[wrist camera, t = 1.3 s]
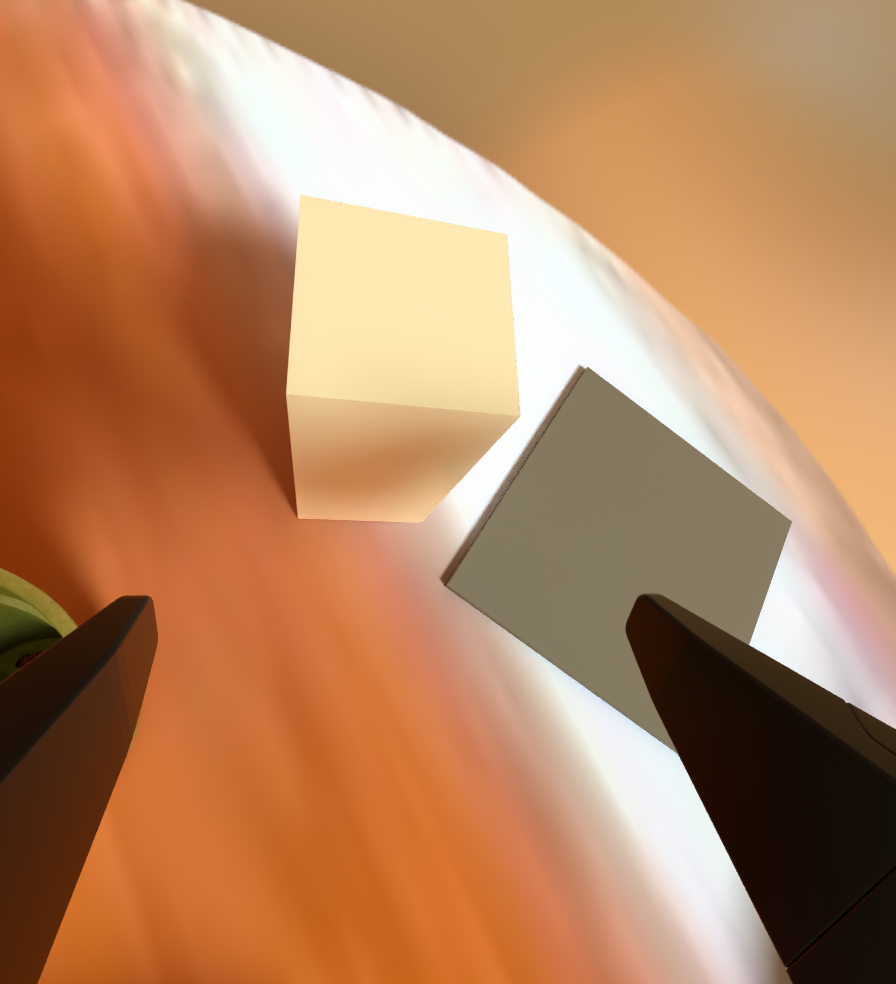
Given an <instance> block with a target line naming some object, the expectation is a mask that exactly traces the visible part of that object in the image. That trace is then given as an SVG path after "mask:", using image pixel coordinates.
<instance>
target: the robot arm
mask: <svg viewBox="0 0 896 984" xmlns="http://www.w3.org/2000/svg"><path fill="white" fill-rule="evenodd" d="M625 631H626V636H627V639H628V641H629V644H630V646H631V649H632V651H633V654H634V657H635V659H636V662H637V664H638V667H639V669H640V672H641V675H642V677H643V680H644V682H645V685H646V687H647V690H648V693H649V695H650V697H651V700H652V702H653V704H654V707H655V709H656V711H657V713H658V715H659V717H660V719H661V721H662V723H663V725H664V727H665V729H666V731H667V733H668V735H669V737H670V739H671V741H672V743H673V745H674V747H675V749H676V751H677V753H678V755H679V757H680V759H681V761H682V763H683V765H684V767H685V769H686V771H687V773H688V775H689V777H690V779H691V781H692V783H693V785H694V787H695V789H696V791H697V793H698V795H699V797H700V799H701V801H702V803H703V805H704V807H705V809H706V811H707V813H708V815H709V817H710V819H711V821H712V823H713V825H714V827H715V829H716V831H717V833H718V835H719V837H720V839H721V841H722V843H723V845H724V847H725V849H726V851H727V853H728V855H729V857H730V859H731V861H732V863H733V865H734V867H735V869H736V871H737V873H738V875H739V877H740V879H741V881H742V883H743V885H744V887H745V889H746V891H747V893H748V895H749V897H750V899H751V901H752V903H753V905H754V907H755V909H756V911H757V913H758V915H759V917H760V919H761V921H762V923H763V925H764V927H765V929H766V931H767V933H768V935H769V937H770V939H771V941H772V943H773V945H774V947H775V949H776V951H777V953H778V955H779V957H780V959H781V961H782V963H783V965H784V966H785V967H787V968H786V972H787V974H788V976H789V978H790V980H791V982H792V984H896V729H894V728H892V727H891V726H889V725H887V724H885V723H884V722H882V721H880V720H878V719H876V718H875V717H873V716H871V715H869V714H868V713H866V712H864V711H862V710H861V709H859V708H857V707H856V706H854V705H852V704H850V703H846V702H845V701H844V700H843V699H842V698H840V697H838V696H836V695H835V694H833V693H831V692H829V691H828V690H826V689H824V688H822V687H821V686H819V685H817V684H816V683H814V682H812V681H810V680H809V679H807V678H805V677H803V676H802V675H800V674H798V673H796V672H795V671H793V670H791V669H790V668H788V667H786V666H784V665H783V664H781V663H779V662H777V661H776V660H774V659H772V658H770V657H769V656H767V655H765V654H764V653H762V652H760V651H758V650H757V649H755V648H753V647H751V646H750V645H748V644H746V643H744V642H743V641H741V640H739V639H738V638H736V637H734V636H732V635H731V634H729V633H727V632H725V631H724V630H722V629H720V628H718V627H717V626H715V625H713V624H712V623H710V622H708V621H706V620H705V619H703V618H701V617H699V616H698V615H696V614H694V613H692V612H691V611H689V610H687V609H686V608H684V607H682V606H680V605H679V604H677V603H675V602H673V601H672V600H670V599H668V598H667V597H665V596H663V595H661V594H657V593H644V594H640V595H639V596H638V597H637V599H636V601H635V603H634V605H633V607H632V610H631V612H630V614H629V617H628V619H627V621H626V625H625ZM157 641H158V632H157V625H156V617H155V610H154V603H153V600H152V598H151V597H149V596H122V597H120V598H118V599H116V600H115V601H114V602H112V603H111V604H109V605H108V606H107V607H105V608H104V609H103V610H101V611H100V612H98V613H97V614H96V615H94V616H93V617H91V618H90V619H89V620H87V621H86V622H84V623H83V624H82V625H80V626H79V627H77V628H76V629H75V630H73V631H72V632H70V633H69V634H68V635H66V636H65V637H63V638H62V639H61V640H59V641H58V642H57V643H55V644H54V645H52V646H51V647H50V648H48V649H47V650H45V651H44V652H43V653H41V654H40V655H38V656H37V657H36V658H34V659H33V660H31V661H30V662H29V663H27V664H26V665H24V666H23V667H22V668H20V669H19V670H17V671H16V672H15V673H13V674H12V675H11V676H9V677H8V678H6V679H5V680H4V681H2V682H1V683H0V984H38V981H39V979H40V976H41V974H42V971H43V968H44V966H45V963H46V961H47V958H48V956H49V953H50V950H51V948H52V945H53V943H54V940H55V938H56V935H57V933H58V930H59V927H60V925H61V922H62V920H63V917H64V915H65V912H66V909H67V907H68V904H69V902H70V899H71V897H72V894H73V892H74V889H75V886H76V884H77V881H78V879H79V876H80V874H81V871H82V868H83V866H84V863H85V861H86V858H87V856H88V853H89V851H90V848H91V845H92V843H93V840H94V838H95V835H96V833H97V830H98V827H99V825H100V822H101V820H102V817H103V815H104V812H105V810H106V807H107V804H108V802H109V799H110V797H111V794H112V792H113V789H114V786H115V784H116V781H117V779H118V776H119V774H120V771H121V769H122V766H123V763H124V761H125V758H126V756H127V753H128V750H129V747H130V745H131V742H132V739H133V735H134V732H135V728H136V725H137V721H138V717H139V713H140V710H141V706H142V702H143V698H144V694H145V690H146V687H147V683H148V679H149V675H150V671H151V667H152V664H153V660H154V656H155V652H156V648H157Z"/></svg>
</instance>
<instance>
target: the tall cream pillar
mask: <svg viewBox="0 0 896 984" xmlns="http://www.w3.org/2000/svg"><path fill="white" fill-rule="evenodd" d="M286 398H287V409H288V419H289V430H290V440H291V451H292V461H293V471H294V482H295V492H296V503H297V513H298V518H299V519H329V520H359V521H389V522H418V523H421V522H422V521H423V520H424V519H425V518H426V517H427V516H428V515H429V514H430V513H431V511H432V510H433V509H434V508H435V507H436V506H437V505H438V504H439V503H440V502H441V501H442V500H443V499H444V497H445V496H446V495H447V494H448V493H449V492H450V491H451V490H452V489H453V488H454V487H455V486H456V485H457V483H458V482H459V481H460V480H461V479H462V478H463V477H464V476H465V475H466V474H467V473H468V472H469V471H470V469H471V468H472V467H473V466H474V465H475V464H476V463H477V462H478V461H479V460H480V459H481V458H482V457H483V455H484V454H485V453H486V452H487V451H488V450H489V449H490V448H491V447H492V446H493V445H494V444H495V443H496V442H497V440H498V439H499V438H500V437H501V436H502V435H503V434H504V433H505V432H506V431H507V430H508V429H509V428H510V426H511V425H512V424H513V423H514V422H515V421H516V420H517V419H518V418H519V417H520V406H519V393H518V379H517V365H516V352H515V338H514V325H513V311H512V297H511V284H510V270H509V256H508V243H507V235H506V234H501V233H496V232H491V231H485V230H480V229H475V228H470V227H465V226H459V225H454V224H449V223H444V222H439V221H433V220H428V219H423V218H418V217H413V216H407V215H402V214H397V213H392V212H387V211H381V210H376V209H371V208H366V207H361V206H355V205H350V204H345V203H340V202H335V201H329V200H324V199H319V198H314V197H309V196H303V195H301V197H300V210H299V224H298V238H297V251H296V265H295V279H294V292H293V306H292V320H291V333H290V347H289V361H288V374H287V388H286Z"/></svg>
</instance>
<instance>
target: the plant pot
mask: <svg viewBox="0 0 896 984" xmlns="http://www.w3.org/2000/svg"><path fill="white" fill-rule="evenodd" d="M77 627H78V625H77V624H76V623H75V622H74V620H73V619H72V618H71V617H70V615H69V614H68V613H67V612H66V611H65V610H64V609H63V608H62V607H61V606H60V605H59V604H58V603H57V602H56V601H55V600H53V599H52V598H51V597H50V596H49V595H48V594H46V593H45V592H44V591H42V590H41V589H39V588H38V587H36V586H34V585H33V584H31V583H29V582H28V581H26V580H24V579H23V578H21V577H19V576H17V575H15V574H13V573H11V572H8V571H6V570H4V569H2V568H0V683H1V682H2V681H4V680H5V679H6V678H8V677H9V676H11V675H12V674H13V673H15V672H16V671H17V670H19V669H20V668H18V667H16V663H17V662H18V660H19V659H21V658H22V657H24V656H25V655H28V654H31V653H38V652H42V651H45V650H47V649H48V648H50V647H51V646H52V645H54V644H55V643H57V642H58V641H59V640H61V639H62V638H63V637H65V636H66V635H68V634H69V633H70V632H72V631H73V630H75V629H76V628H77ZM139 715H140V713H139ZM138 721H139V717H138ZM138 721H137V725H136V728H135V732H134V735H133V739H134V737H135V734H136V731H137V726H138ZM133 739H132V742H133ZM132 742H131V745H132ZM131 745H130V747H131ZM130 747H129V749H130ZM128 751H129V750H128Z"/></svg>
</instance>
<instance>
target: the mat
mask: <svg viewBox="0 0 896 984" xmlns="http://www.w3.org/2000/svg"><path fill="white" fill-rule="evenodd" d="M791 523H792V521H790V520H789V519H788V518H786V517H785V516H784V515H783V514H781V513H780V512H779V511H777V510H776V509H775V508H773V507H772V506H771V505H769V504H768V503H767V502H765V501H764V500H763V499H761V498H760V497H759V496H757V495H756V494H755V493H753V492H752V491H751V490H750V489H748V488H747V487H746V486H744V485H743V484H742V483H740V482H739V481H738V480H736V479H735V478H734V477H732V476H731V475H730V474H728V473H727V472H726V471H724V470H723V469H722V468H720V467H719V466H718V465H717V464H715V463H714V462H713V461H711V460H710V459H709V458H707V457H706V456H705V455H703V454H702V453H701V452H699V451H698V450H697V449H695V448H694V447H693V446H691V445H690V444H689V443H687V442H686V441H685V440H684V439H682V438H681V437H680V436H678V435H677V434H676V433H674V432H673V431H672V430H670V429H669V428H668V427H666V426H665V425H664V424H662V423H661V422H660V421H658V420H657V419H656V418H655V417H653V416H652V415H651V414H649V413H648V412H647V411H645V410H644V409H643V408H641V407H640V406H639V405H637V404H636V403H635V402H633V401H632V400H631V399H629V398H628V397H627V396H625V395H624V394H623V393H622V392H620V391H619V390H618V389H616V388H615V387H614V386H612V385H611V384H610V383H608V382H607V381H606V380H604V379H603V378H602V377H600V376H599V375H598V374H596V373H595V372H594V371H592V370H591V369H590V368H589V367H587V368H586V369H585V370H584V371H583V373H582V375H581V376H580V378H579V379H578V381H577V382H576V384H575V385H574V387H573V388H572V390H571V392H570V393H569V395H568V396H567V398H566V399H565V401H564V402H563V404H562V406H561V407H560V409H559V410H558V412H557V413H556V415H555V416H554V418H553V419H552V421H551V423H550V424H549V426H548V427H547V429H546V430H545V432H544V433H543V435H542V437H541V438H540V440H539V441H538V443H537V444H536V446H535V447H534V449H533V450H532V452H531V454H530V455H529V457H528V458H527V460H526V461H525V463H524V464H523V466H522V468H521V469H520V471H519V472H518V474H517V475H516V477H515V478H514V480H513V481H512V483H511V485H510V486H509V488H508V489H507V491H506V492H505V494H504V495H503V497H502V499H501V500H500V502H499V503H498V505H497V506H496V508H495V509H494V511H493V512H492V514H491V516H490V517H489V519H488V520H487V522H486V523H485V525H484V526H483V528H482V529H481V531H480V533H479V534H478V536H477V537H476V539H475V540H474V542H473V543H472V545H471V547H470V548H469V550H468V551H467V553H466V554H465V556H464V557H463V559H462V560H461V562H460V564H459V565H458V567H457V568H456V570H455V571H454V573H453V574H452V576H451V578H450V579H449V581H448V582H447V584H446V585H445V587H447V588H448V589H450V590H451V591H452V592H454V593H455V594H457V595H458V596H459V597H461V598H462V599H464V600H465V601H466V602H468V603H469V604H470V605H472V606H473V607H475V608H476V609H477V610H479V611H480V612H482V613H483V614H484V615H486V616H487V617H489V618H490V619H491V620H493V621H494V622H495V623H497V624H498V625H500V626H501V627H502V628H504V629H505V630H507V631H508V632H509V633H511V634H512V635H513V636H515V637H516V638H518V639H519V640H520V641H522V642H523V643H525V644H526V645H527V646H529V647H530V648H532V649H533V650H534V651H536V652H537V653H538V654H540V655H541V656H543V657H544V658H545V659H547V660H548V661H550V662H551V663H552V664H554V665H555V666H557V667H558V668H559V669H561V670H562V671H563V672H565V673H566V674H568V675H569V676H570V677H572V678H573V679H575V680H576V681H577V682H579V683H580V684H582V685H583V686H584V687H586V688H587V689H588V690H590V691H591V692H593V693H594V694H595V695H597V696H598V697H600V698H601V699H602V700H604V701H605V702H607V703H608V704H609V705H611V706H612V707H613V708H615V709H616V710H618V711H619V712H620V713H622V714H623V715H625V716H626V717H627V718H629V719H630V720H631V721H633V722H634V723H636V724H637V725H638V726H640V727H641V728H643V729H644V730H645V731H647V732H648V733H650V734H651V735H652V736H654V737H655V738H656V739H658V740H659V741H661V742H662V743H663V744H665V745H666V746H668V747H669V748H670V749H672V750H673V751H675V752H676V753H677V751H676V749H675V747H674V745H673V743H672V741H671V739H670V737H669V735H668V733H667V731H666V729H665V727H664V725H663V723H662V721H661V719H660V717H659V715H658V713H657V711H656V709H655V707H654V704H653V702H652V700H651V697H650V695H649V693H648V690H647V687H646V685H645V682H644V680H643V677H642V675H641V672H640V669H639V667H638V664H637V662H636V659H635V657H634V654H633V651H632V649H631V646H630V644H629V641H628V639H627V636H626V631H625V625H626V621H627V619H628V617H629V614H630V612H631V610H632V607H633V605H634V603H635V601H636V599H637V597H638V596H639V595H640V594H644V593H657V594H661V595H663V596H665V597H667V598H668V599H670V600H672V601H673V602H675V603H677V604H679V605H680V606H682V607H684V608H686V609H687V610H689V611H691V612H692V613H694V614H696V615H698V616H699V617H701V618H703V619H705V620H706V621H708V622H710V623H712V624H713V625H715V626H717V627H718V628H720V629H722V630H724V631H725V632H727V633H729V634H731V635H732V636H734V637H736V638H738V639H739V640H741V641H743V642H744V643H746V644H748V645H749V643H750V640H751V638H752V635H753V632H754V629H755V626H756V623H757V620H758V617H759V615H760V612H761V609H762V606H763V603H764V600H765V597H766V594H767V592H768V589H769V586H770V583H771V580H772V577H773V574H774V572H775V569H776V566H777V563H778V560H779V557H780V554H781V551H782V549H783V546H784V543H785V540H786V537H787V534H788V531H789V528H790V526H791ZM677 754H678V753H677Z"/></svg>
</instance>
